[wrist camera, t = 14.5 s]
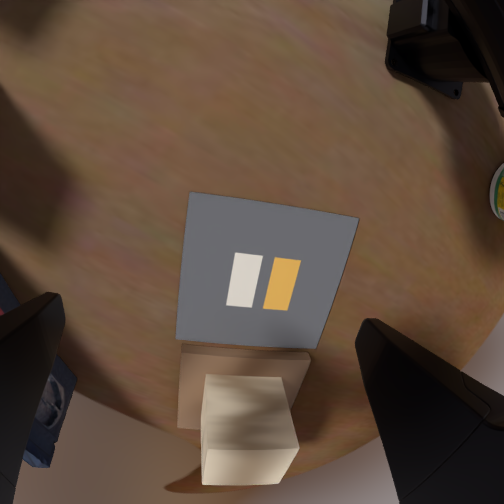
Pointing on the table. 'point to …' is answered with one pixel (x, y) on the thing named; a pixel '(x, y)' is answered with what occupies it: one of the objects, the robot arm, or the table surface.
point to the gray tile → (259, 271)
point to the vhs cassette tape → (44, 400)
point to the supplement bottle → (498, 193)
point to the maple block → (245, 431)
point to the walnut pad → (233, 374)
